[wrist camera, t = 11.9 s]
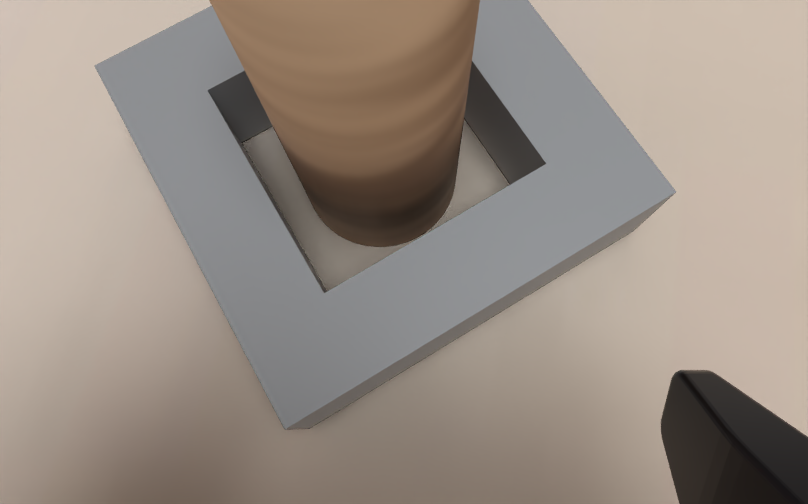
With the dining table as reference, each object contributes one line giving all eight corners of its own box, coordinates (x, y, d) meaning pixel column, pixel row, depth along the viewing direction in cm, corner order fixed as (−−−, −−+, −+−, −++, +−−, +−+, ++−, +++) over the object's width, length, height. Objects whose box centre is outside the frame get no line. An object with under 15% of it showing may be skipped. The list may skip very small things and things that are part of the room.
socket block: (309, 428, 19) (284, 429, 15) (145, 121, 22) (94, 65, 18) (633, 230, 20) (676, 191, 17) (438, -34, 23) (441, -112, 20)
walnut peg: (416, 271, 20) (409, 63, 8) (280, 209, 21) (101, -62, 9) (479, 141, 21) (547, -198, 10) (348, 87, 22) (265, -291, 10)
